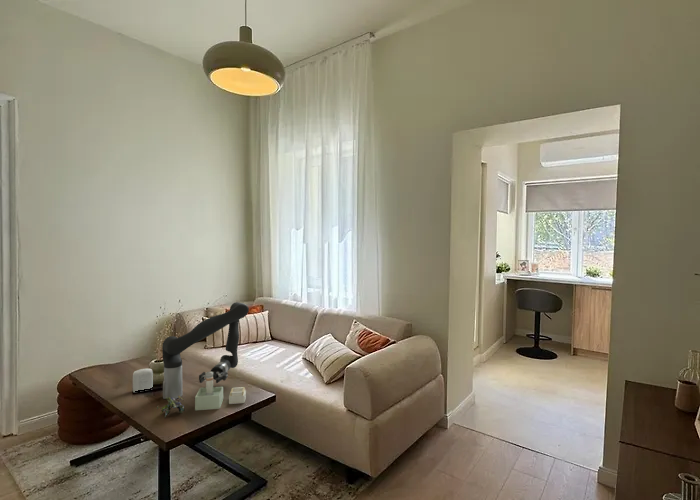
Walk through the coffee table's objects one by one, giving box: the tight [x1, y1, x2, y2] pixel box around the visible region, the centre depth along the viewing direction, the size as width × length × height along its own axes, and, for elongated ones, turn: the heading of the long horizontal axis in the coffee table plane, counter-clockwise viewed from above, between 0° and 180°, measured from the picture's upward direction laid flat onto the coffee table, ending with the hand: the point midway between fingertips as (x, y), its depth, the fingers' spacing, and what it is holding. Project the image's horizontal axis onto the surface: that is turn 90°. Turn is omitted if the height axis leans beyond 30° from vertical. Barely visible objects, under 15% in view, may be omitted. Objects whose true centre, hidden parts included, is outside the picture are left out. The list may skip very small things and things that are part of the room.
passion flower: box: [156, 395, 185, 418], centre depth 190 cm, size 11×11×12 cm
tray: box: [194, 386, 224, 411], centre depth 203 cm, size 12×12×7 cm
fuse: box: [205, 371, 214, 396], centre depth 202 cm, size 4×4×12 cm
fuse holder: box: [228, 386, 247, 405], centre depth 208 cm, size 8×8×6 cm
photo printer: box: [132, 368, 154, 393], centre depth 221 cm, size 10×4×12 cm, turn 123°
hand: (208, 381), depth 201 cm, fingers open, 8 cm apart
